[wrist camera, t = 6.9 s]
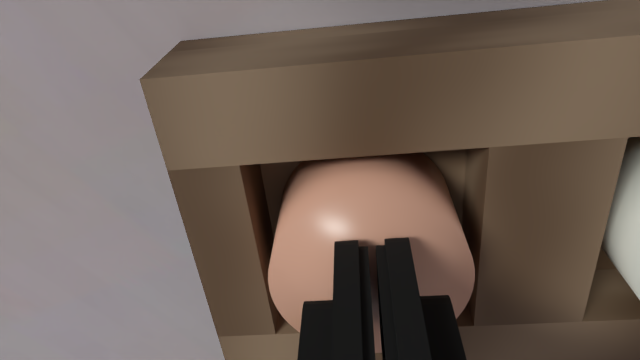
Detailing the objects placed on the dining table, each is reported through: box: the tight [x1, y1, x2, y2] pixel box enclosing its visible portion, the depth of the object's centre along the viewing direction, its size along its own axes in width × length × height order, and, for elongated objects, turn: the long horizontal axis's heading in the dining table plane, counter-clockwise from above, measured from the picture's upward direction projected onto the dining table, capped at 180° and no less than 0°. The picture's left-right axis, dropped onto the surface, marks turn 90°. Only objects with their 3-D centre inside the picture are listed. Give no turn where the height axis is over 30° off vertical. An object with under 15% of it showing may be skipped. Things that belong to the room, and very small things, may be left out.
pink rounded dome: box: [268, 152, 475, 353], centre depth 13 cm, size 5×5×3 cm
